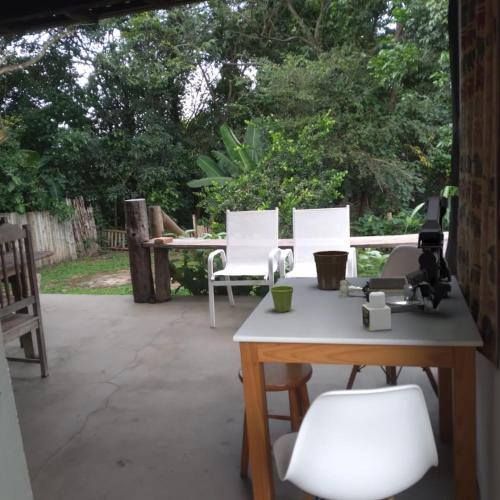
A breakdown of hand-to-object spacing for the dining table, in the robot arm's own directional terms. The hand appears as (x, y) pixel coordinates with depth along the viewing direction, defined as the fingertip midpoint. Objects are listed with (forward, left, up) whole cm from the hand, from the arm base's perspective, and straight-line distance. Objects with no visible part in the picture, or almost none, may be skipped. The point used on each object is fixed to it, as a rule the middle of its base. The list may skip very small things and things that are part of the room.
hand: (430, 305), depth 173 cm
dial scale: (+8, -9, -2) cm, 12 cm away
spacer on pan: (+3, -9, +1) cm, 9 cm away
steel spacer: (0, +1, -2) cm, 2 cm away
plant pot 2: (+21, -52, -2) cm, 56 cm away
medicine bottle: (+25, +13, -2) cm, 28 cm away
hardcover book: (-2, -44, -3) cm, 44 cm away
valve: (+17, -31, -2) cm, 36 cm away
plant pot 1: (+50, -19, -2) cm, 53 cm away
